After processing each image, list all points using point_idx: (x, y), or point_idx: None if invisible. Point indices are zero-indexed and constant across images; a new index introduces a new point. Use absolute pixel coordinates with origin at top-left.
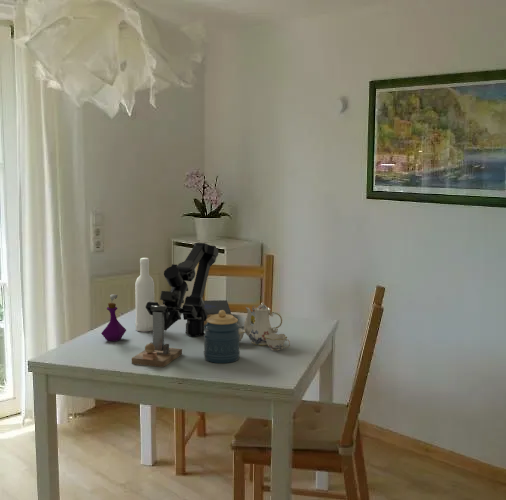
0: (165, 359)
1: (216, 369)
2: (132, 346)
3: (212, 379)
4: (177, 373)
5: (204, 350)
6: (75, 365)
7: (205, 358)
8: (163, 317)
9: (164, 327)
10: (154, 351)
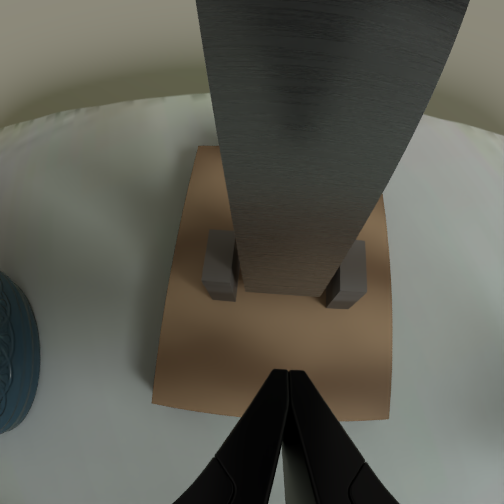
0: (195, 173)
1: (8, 208)
2: (493, 440)
3: (35, 127)
4: (131, 125)
5: (10, 314)
6: (501, 138)
7: (29, 309)
8: (214, 52)
9: (289, 378)
10: (320, 299)
